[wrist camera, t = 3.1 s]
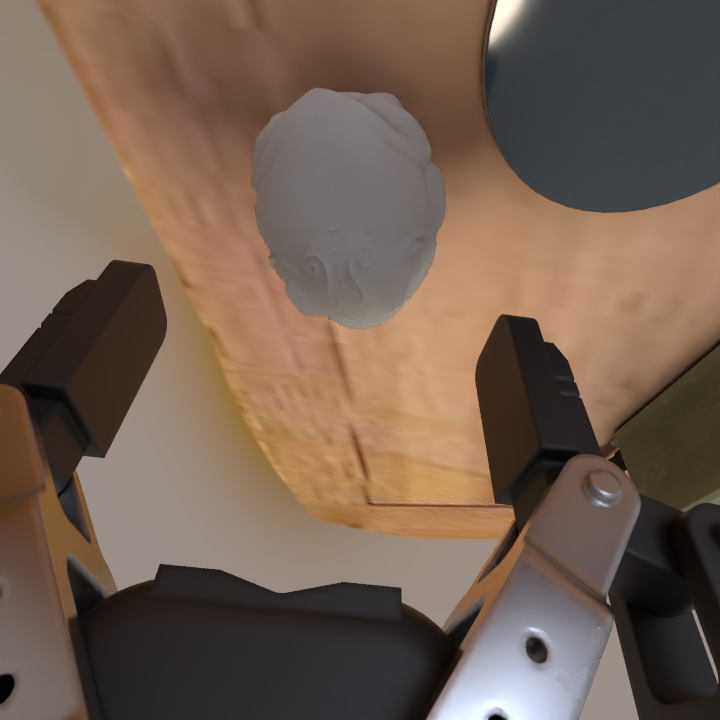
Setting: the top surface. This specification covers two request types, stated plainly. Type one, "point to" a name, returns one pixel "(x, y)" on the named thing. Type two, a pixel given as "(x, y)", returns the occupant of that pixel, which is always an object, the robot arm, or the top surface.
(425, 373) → the top surface
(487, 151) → the top surface
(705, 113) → the coaster
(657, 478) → the handheld radio
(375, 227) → the white stone carving
